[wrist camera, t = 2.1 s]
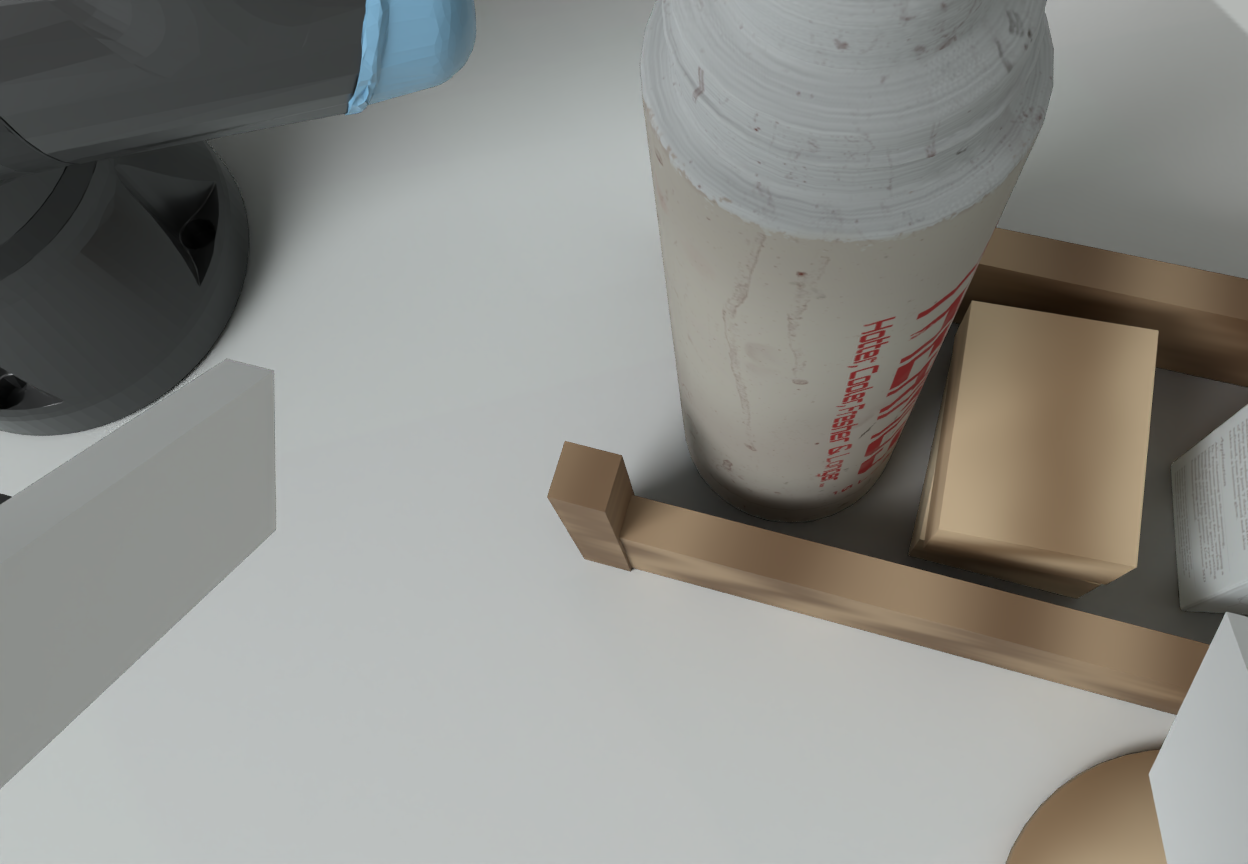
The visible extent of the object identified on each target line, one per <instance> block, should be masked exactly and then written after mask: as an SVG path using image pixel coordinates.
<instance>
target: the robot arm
mask: <svg viewBox="0 0 1248 864" xmlns="http://www.w3.org/2000/svg"><path fill="white" fill-rule="evenodd" d="M475 38H476V15H475V6H474V0H0V430H1V431H5V432H9V433H15V434H22V435H34V436H50V435H62V434H69V433H76V432H80V431H85V430H89V429H93V428H96V427H99V426H103V425H106V424H108V423H111V422H114V421H116V420H119V419H121V418H123V417H125V416H128V415H130V414H132V413H134V412H136V411H137V410H139V409H141V408H143V407H145V406H146V405H148V404H150V403H151V402H153V401H154V400H156V399H157V398H159V397H160V396H162V395H163V394H164V393H166V392H167V391H168V390H170V389H171V388H172V387H173V386H175V385H176V384H177V383H178V382H179V381H181V380H182V379H183V378H184V377H185V376H186V375H187V374H188V373H189V372H190V371H191V370H192V369H193V368H194V367H195V366H196V365H197V364H198V363H199V362H200V360H201V359H202V358H203V357H204V356H205V355H206V353H207V352H208V351H209V349H210V348H211V347H212V345H213V344H214V343H215V341H216V340H217V338H218V337H219V335H220V334H221V332H222V331H223V329H224V327H225V325H226V323H227V322H228V320H229V318H230V316H231V314H232V312H233V310H234V307H235V305H236V303H237V300H238V297H239V295H240V292H241V288H242V285H243V282H244V277H245V273H246V268H247V261H248V251H249V231H248V222H247V216H246V211H245V207H244V203H243V200H242V197H241V194H240V192H239V189H238V187H237V185H236V183H235V181H234V179H233V177H232V176H231V174H230V172H229V171H228V169H227V168H226V166H225V165H224V164H223V162H222V161H221V160H220V158H219V157H218V156H217V155H216V153H215V152H214V151H213V150H212V148H211V147H210V146H209V145H208V143H207V142H206V141H205V140H208V139H213V138H218V137H224V136H229V135H234V134H239V133H245V132H250V131H255V130H261V129H266V128H271V127H276V126H282V125H287V124H292V123H297V122H303V121H308V120H313V119H318V118H324V117H329V116H334V115H340V114H345V115H350V114H356V113H360V112H362V111H363V110H364V109H365V108H366V107H367V105H370V104H373V103H377V102H380V101H384V100H388V99H391V98H395V97H399V96H402V95H406V94H409V93H413V92H417V91H420V90H424V89H427V88H431V87H435V86H438V85H440V84H442V83H444V82H445V81H447V80H449V79H450V78H452V76H453V75H454V74H455V73H456V72H458V71H459V70H460V69H461V68H462V67H463V66H464V64H465V63H466V62H467V60H468V58H469V56H470V54H471V52H472V50H473V47H474V43H475ZM275 530H276V485H275V410H274V371H273V370H270V369H266V368H262V367H258V366H254V365H250V364H246V363H242V362H238V361H234V360H230V359H225V360H224V361H222V362H221V363H219V364H217V365H216V366H214V367H213V368H211V369H210V370H208V371H207V372H205V373H204V374H202V375H200V376H199V377H197V378H196V379H194V380H193V381H191V382H190V383H188V384H186V385H185V386H183V387H182V388H180V389H179V390H177V391H176V392H174V393H172V394H171V395H169V396H168V397H166V398H165V399H163V400H162V401H160V402H159V403H157V404H155V405H154V406H152V407H151V408H149V409H148V410H146V411H145V412H143V413H141V414H140V415H138V416H137V417H135V418H134V419H132V420H131V421H129V422H128V423H126V424H124V425H123V426H121V427H120V428H118V429H117V430H115V431H114V432H112V433H110V434H109V435H107V436H106V437H104V438H103V439H101V440H100V441H98V442H97V443H95V444H93V445H92V446H90V447H89V448H87V449H86V450H84V451H83V452H81V453H79V454H78V455H76V456H75V457H73V458H72V459H70V460H69V461H67V462H65V463H64V464H62V465H61V466H59V467H58V468H56V469H55V470H53V471H52V472H50V473H48V474H47V475H45V476H44V477H42V478H41V479H39V480H38V481H36V482H34V483H33V484H31V485H30V486H28V487H27V488H25V489H24V490H22V491H21V492H19V493H17V494H16V495H14V496H13V497H11V496H7V495H4V494H0V789H1V788H2V787H3V786H4V785H5V784H6V783H7V782H8V781H9V780H10V779H11V778H12V777H14V776H15V775H16V774H17V773H18V772H19V771H20V770H21V769H22V768H23V767H24V766H25V765H26V764H27V763H28V762H30V761H31V760H32V759H33V758H34V757H35V756H36V755H37V754H38V753H39V752H40V751H41V750H42V749H43V748H44V747H45V746H47V745H48V744H49V743H50V742H51V741H52V740H53V739H54V738H55V737H56V736H57V735H58V734H59V733H60V732H61V731H62V730H64V729H65V728H66V727H67V726H68V725H69V724H70V723H71V722H72V721H73V720H74V719H75V718H76V717H77V716H78V715H80V714H81V713H82V712H83V711H84V710H85V709H86V708H87V707H88V706H89V705H90V704H91V703H92V702H93V701H94V700H95V699H97V698H98V697H99V696H100V695H101V694H102V693H103V692H104V691H105V690H106V689H107V688H108V687H109V686H110V685H111V684H113V683H114V682H115V681H116V680H117V679H118V678H119V677H120V676H121V675H122V674H123V673H124V672H125V671H126V670H127V669H128V668H130V667H131V666H132V665H133V664H134V663H135V662H136V661H137V660H138V659H139V658H140V657H141V656H142V655H143V654H144V653H146V652H147V651H148V650H149V649H150V648H151V647H152V646H153V645H154V644H155V643H156V642H157V641H158V640H159V639H160V638H161V637H163V636H164V635H165V634H166V633H167V632H168V631H169V630H170V629H171V628H172V627H173V626H174V625H175V624H176V623H177V622H179V621H180V620H181V619H182V618H183V617H184V616H185V615H186V614H187V613H188V612H189V611H190V610H191V609H192V608H193V607H194V606H196V605H197V604H198V603H199V602H200V601H201V600H202V599H203V598H204V597H205V596H206V595H207V594H208V593H209V592H210V591H211V590H213V589H214V588H215V587H216V586H217V585H218V584H219V583H220V582H221V581H222V580H223V579H224V578H225V577H226V576H227V575H229V574H230V573H231V572H232V571H233V570H234V569H235V568H236V567H237V566H238V565H239V564H240V563H241V562H242V561H243V560H244V559H246V558H247V557H248V556H249V555H250V554H251V553H252V552H253V551H254V550H255V549H256V548H257V547H258V546H259V545H260V544H262V543H263V542H264V541H265V540H266V539H267V538H268V537H269V536H270V535H271V534H272V533H273V532H274V531H275ZM1149 778H1150V783H1151V788H1152V793H1153V798H1154V802H1155V807H1156V812H1157V817H1158V822H1159V827H1160V832H1161V836H1162V841H1163V846H1164V851H1165V856H1166V861H1167V864H1248V617H1246V616H1242V615H1238V614H1234V613H1230V612H1226V613H1225V615H1224V617H1223V619H1222V621H1221V623H1220V626H1219V628H1218V630H1217V632H1216V634H1215V636H1214V638H1213V640H1212V642H1211V644H1210V647H1209V649H1208V651H1207V653H1206V655H1205V657H1204V659H1203V661H1202V663H1201V665H1200V667H1199V670H1198V672H1197V674H1196V676H1195V678H1194V680H1193V682H1192V684H1191V686H1190V688H1189V691H1188V693H1187V695H1186V697H1185V699H1184V701H1183V703H1182V705H1181V707H1180V709H1179V711H1178V714H1177V716H1176V718H1175V720H1174V722H1173V724H1172V726H1171V728H1170V730H1169V732H1168V735H1167V737H1166V739H1165V741H1164V743H1163V745H1162V747H1161V749H1160V751H1159V753H1158V755H1157V758H1156V760H1155V762H1154V764H1153V766H1152V768H1151V770H1150V772H1149Z"/></svg>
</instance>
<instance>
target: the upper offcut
mask: <svg viewBox="0 0 1248 864" xmlns="http://www.w3.org/2000/svg"><path fill="white" fill-rule="evenodd" d="M1158 332H1159V331H1158V330H1152V329H1146V328H1140V327H1134V326H1127V325H1121V324H1115V323H1109V322H1103V321H1096V320H1090V319H1084V318H1078V317H1072V316H1065V315H1059V314H1053V313H1047V312H1041V311H1034V310H1028V309H1022V308H1016V307H1010V306H1003V305H997V304H991V303H985V302H979V301H971V303H970V305H969V307H968V310H967V312H966V314H965V316H964V318H963V320H962V322H961V324H960V326H959V328H958V330H957V332H956V334H955V338H954V345H953V352H952V359H951V365H950V372H949V379H948V385H947V392H946V399H945V406H944V412H943V419H942V426H941V433H940V439H939V446H938V453H937V460H936V466H935V473H934V480H933V487H932V493H931V500H930V507H929V514H928V520H927V527H926V534H925V541H924V547H923V549H925V550H930V551H935V552H940V553H945V554H950V555H956V556H961V557H966V558H971V559H976V560H981V561H986V562H991V563H997V564H1002V565H1007V566H1012V567H1017V568H1022V569H1027V570H1032V571H1038V572H1043V573H1048V574H1053V575H1058V576H1063V577H1068V578H1073V579H1079V580H1084V581H1089V582H1094V583H1099V584H1104V585H1107V584H1108V583H1110V582H1112V581H1114V580H1115V579H1117V578H1119V577H1121V576H1122V575H1124V574H1126V573H1128V572H1129V571H1131V570H1133V569H1134V568H1136V567H1137V561H1138V550H1139V539H1140V528H1141V517H1142V506H1143V495H1144V484H1145V474H1146V463H1147V452H1148V441H1149V430H1150V419H1151V408H1152V397H1153V386H1154V376H1155V365H1156V354H1157V343H1158Z"/></svg>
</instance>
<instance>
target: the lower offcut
mask: <svg viewBox="0 0 1248 864" xmlns="http://www.w3.org/2000/svg"><path fill="white" fill-rule="evenodd" d="M951 359H952V357H951ZM950 365H951V362H950ZM949 372H950V367H949V371H948V376H947V380H946V385H945V389H944V394H943V398H942V403H941V408H940V412H939V417H938V421H937V426H936V430H935V435H934V439H933V444H932V449H931V453H930V458H929V462H928V467H927V471H926V476H925V480H924V485H923V489H922V494H921V499H920V503H919V508H918V512H917V517H916V521H915V526H914V530H913V535H912V540H911V544H910V549H909V553H908V556H912V557H916V558H920V559H924V560H928V561H932V562H935V563H939V564H943V565H947V566H951V567H955V568H959V569H963V570H967V571H970V572H974V573H978V574H982V575H986V576H990V577H994V578H998V579H1002V580H1005V581H1009V582H1013V583H1017V584H1021V585H1025V586H1029V587H1033V588H1037V589H1040V590H1044V591H1048V592H1052V593H1056V594H1060V595H1064V596H1068V597H1072V598H1075V599H1078V598H1079V597H1081V596H1083V595H1084V594H1086V593H1088V592H1090V591H1091V590H1093V589H1095V588H1096V587H1098V586H1100V585H1101V584H1099V583H1094V582H1089V581H1084V580H1079V579H1073V578H1068V577H1063V576H1058V575H1053V574H1048V573H1043V572H1038V571H1032V570H1027V569H1022V568H1017V567H1012V566H1007V565H1002V564H997V563H991V562H986V561H981V560H976V559H971V558H966V557H961V556H956V555H950V554H945V553H940V552H935V551H930V550H925V549H923V547H924V541H925V534H926V527H927V520H928V514H929V507H930V500H931V493H932V487H933V480H934V473H935V466H936V460H937V453H938V446H939V439H940V433H941V426H942V419H943V412H944V406H945V399H946V392H947V385H948V379H949Z"/></svg>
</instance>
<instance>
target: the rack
mask: <svg viewBox="0 0 1248 864" xmlns="http://www.w3.org/2000/svg"><path fill="white" fill-rule="evenodd" d="M971 301H979V302H985V303H991V304H997V305H1003V306H1010V307H1016V308H1022V309H1028V310H1034V311H1041V312H1047V313H1053V314H1059V315H1065V316H1072V317H1078V318H1084V319H1090V320H1096V321H1103V322H1109V323H1115V324H1121V325H1127V326H1134V327H1140V328H1146V329H1152V330H1158V331H1159V332H1158V343H1157V354H1156V365H1155V367H1158V368H1162V369H1167V370H1171V371H1176V372H1180V373H1185V374H1189V375H1194V376H1199V377H1203V378H1208V379H1212V380H1217V381H1221V382H1226V383H1230V384H1235V385H1239V386H1244V387H1248V279H1244V278H1239V277H1234V276H1229V275H1225V274H1220V273H1215V272H1210V271H1205V270H1200V269H1195V268H1190V267H1186V266H1181V265H1176V264H1171V263H1166V262H1161V261H1156V260H1152V259H1147V258H1142V257H1137V256H1132V255H1127V254H1122V253H1117V252H1113V251H1108V250H1103V249H1098V248H1093V247H1088V246H1083V245H1079V244H1074V243H1069V242H1064V241H1059V240H1054V239H1049V238H1045V237H1040V236H1035V235H1030V234H1025V233H1020V232H1015V231H1010V230H1006V229H1001V228H995V230H994V232H993V234H992V236H991V239H990V241H989V243H988V245H987V247H986V249H985V252H984V254H983V256H982V258H981V260H980V262H979V265H978V267H977V269H976V271H975V273H974V276H973V278H972V280H971V282H970V284H969V286H968V289H967V291H966V293H965V295H964V297H963V300H962V302H961V304H960V306H959V308H958V310H957V313H956V315H955V317H954V319H953V321H952V322H954V323H959V324H961V322H962V320H963V318H964V316H965V314H966V312H967V310H968V307H969V305H970V303H971ZM547 497H548V499H549V501H550V502H551V504H552V506H553V507H554V509H555V511H556V512H557V514H558V516H559V517H560V519H561V521H562V522H563V524H564V526H565V527H566V529H567V531H568V532H569V534H570V536H571V537H572V539H573V541H574V542H575V544H576V546H577V547H578V549H579V551H580V552H581V554H582V556H583V557H584V559H587V560H590V561H594V562H598V563H602V564H605V565H609V566H613V567H616V568H620V569H624V570H627V571H631V569H632V568H635V569H639V570H643V571H646V572H650V573H654V574H657V575H661V576H665V577H669V578H672V579H676V580H680V581H683V582H687V583H691V584H694V585H698V586H702V587H706V588H709V589H713V590H717V591H720V592H724V593H728V594H731V595H735V596H739V597H742V598H746V599H750V600H754V601H757V602H761V603H765V604H768V605H772V606H776V607H779V608H783V609H787V610H790V611H794V612H798V613H802V614H805V615H809V616H813V617H816V618H820V619H824V620H827V621H831V622H835V623H838V624H842V625H846V626H850V627H853V628H857V629H861V630H864V631H868V632H872V633H875V634H879V635H883V636H887V637H890V638H894V639H898V640H901V641H905V642H909V643H912V644H916V645H920V646H923V647H927V648H931V649H935V650H938V651H942V652H946V653H949V654H953V655H957V656H960V657H964V658H968V659H971V660H975V661H979V662H983V663H986V664H990V665H994V666H997V667H1001V668H1005V669H1008V670H1012V671H1016V672H1019V673H1023V674H1027V675H1031V676H1034V677H1038V678H1042V679H1045V680H1049V681H1053V682H1056V683H1060V684H1064V685H1068V686H1071V687H1075V688H1079V689H1082V690H1086V691H1090V692H1093V693H1097V694H1101V695H1104V696H1108V697H1112V698H1116V699H1119V700H1123V701H1127V702H1130V703H1134V704H1138V705H1141V706H1145V707H1149V708H1152V709H1156V710H1160V711H1164V712H1167V713H1171V714H1175V715H1177V714H1178V711H1179V709H1180V707H1181V705H1182V703H1183V701H1184V699H1185V697H1186V695H1187V693H1188V691H1189V688H1190V686H1191V684H1192V682H1193V680H1194V678H1195V676H1196V674H1197V672H1198V670H1199V667H1200V665H1201V663H1202V661H1203V659H1204V657H1205V655H1206V653H1207V651H1208V649H1209V647H1210V645H1209V644H1205V643H1202V642H1198V641H1194V640H1190V639H1186V638H1182V637H1178V636H1175V635H1171V634H1167V633H1163V632H1159V631H1155V630H1151V629H1148V628H1144V627H1140V626H1136V625H1132V624H1128V623H1124V622H1121V621H1117V620H1113V619H1109V618H1105V617H1101V616H1097V615H1094V614H1090V613H1086V612H1082V611H1078V610H1074V609H1070V608H1067V607H1063V606H1059V605H1055V604H1051V603H1047V602H1043V601H1040V600H1036V599H1032V598H1028V597H1024V596H1020V595H1017V594H1013V593H1009V592H1005V591H1001V590H997V589H993V588H990V587H986V586H982V585H978V584H974V583H970V582H966V581H963V580H959V579H955V578H951V577H947V576H943V575H939V574H936V573H932V572H928V571H924V570H920V569H916V568H912V567H909V566H905V565H901V564H897V563H893V562H889V561H885V560H882V559H878V558H874V557H870V556H866V555H862V554H858V553H855V552H851V551H847V550H843V549H839V548H835V547H831V546H828V545H824V544H820V543H816V542H812V541H808V540H804V539H801V538H797V537H793V536H789V535H785V534H781V533H777V532H774V531H770V530H766V529H762V528H758V527H754V526H750V525H747V524H743V523H739V522H735V521H731V520H727V519H723V518H720V517H716V516H712V515H708V514H704V513H700V512H696V511H693V510H689V509H685V508H681V507H677V506H673V505H669V504H666V503H662V502H658V501H654V500H650V499H646V498H642V497H639V496H635V495H634V492H633V489H632V486H631V482H630V479H629V476H628V473H627V470H626V467H625V463H624V460H623V457H622V455H618V454H614V453H610V452H606V451H602V450H599V449H595V448H591V447H587V446H583V445H579V444H575V443H571V442H567V441H565V442H564V445H563V449H562V452H561V455H560V458H559V461H558V464H557V467H556V471H555V474H554V477H553V480H552V483H551V486H550V489H549V493H548V496H547Z"/></svg>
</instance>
